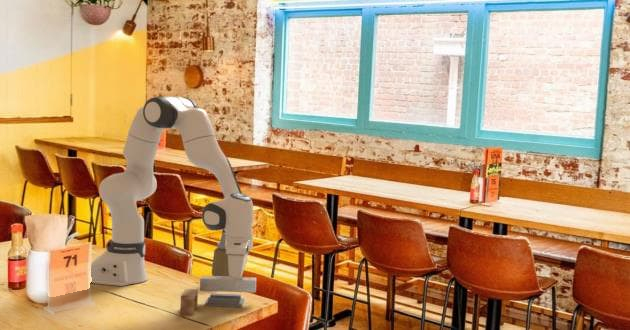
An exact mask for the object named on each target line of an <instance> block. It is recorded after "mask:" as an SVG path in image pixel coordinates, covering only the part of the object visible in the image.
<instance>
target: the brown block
mask: <svg viewBox="0 0 630 330" xmlns="http://www.w3.org/2000/svg"><path fill="white" fill-rule="evenodd" d="M198 293H199V290H198V289H197V288H185V289H184V291H183V292H182V293H181V295H180V314H179V315H180V316H194V315H195V310H197V309H198V301H199V300H198V297H199V294H198Z"/></svg>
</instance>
